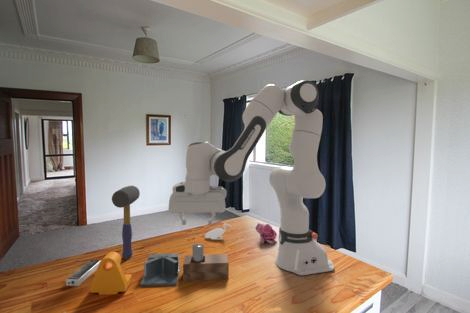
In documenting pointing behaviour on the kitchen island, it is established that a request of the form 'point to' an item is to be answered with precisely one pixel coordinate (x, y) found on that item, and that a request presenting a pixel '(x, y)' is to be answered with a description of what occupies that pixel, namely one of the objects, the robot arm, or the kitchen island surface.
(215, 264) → the walnut beam
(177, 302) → the kitchen island surface
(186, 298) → the kitchen island surface
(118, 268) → the bracket
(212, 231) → the figurine
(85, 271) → the multiport hub
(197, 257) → the steel axle
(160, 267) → the V-block
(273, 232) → the flower
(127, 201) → the rubber mallet
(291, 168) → the robot arm
